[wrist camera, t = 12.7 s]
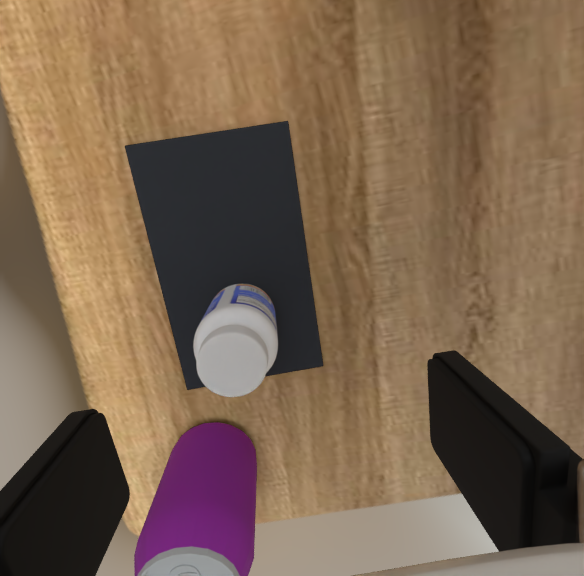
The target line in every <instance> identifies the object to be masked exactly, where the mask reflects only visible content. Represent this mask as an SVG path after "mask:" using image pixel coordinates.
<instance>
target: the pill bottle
mask: <svg viewBox="0 0 584 576" xmlns="http://www.w3.org/2000/svg"><path fill="white" fill-rule="evenodd" d="M193 348H194V355H195V358H196V367H197V373H198V376H199V378H200V379H201V381H202V383H203V384H204V385H205V386H206V387H207V388H208V389H209V390H211V391H212V392H214V393H216V394H218V395H221V396H225V397H239V396H243V395H246V394H248V393H250V392H252V391H253V390H255V389H256V388H257V387H258V386H259V385H260V384H261V383H262V381H263V379H264V378H265V375H266V373H267V372H268V371H269V369H270V368H271V367H272V365H273V363H274V361H275V359H276V356H277V351H278V335H277V325H276V315H275V309H274V305H273V303H272V301H271V299H270V298H269V296H268V295H267V294H266V293H265V292H264V291H263V290H261V289H260V288H258V287H256V286H253V285H250V284H235V285H231V286H228V287H226V288H224V289H223V290H221V291H220V292H219V293H218V294H217V295H216V296H215V297H214V299H213V300H212V302H211V304H210V306H209V307H208V309H207V311H206V313H205V315H204V316H203V318H202V320H201V322H200V324H199V326H198V328H197V330H196V333H195V336H194V344H193Z"/></svg>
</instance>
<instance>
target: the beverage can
mask: <svg viewBox="0 0 584 576" xmlns="http://www.w3.org/2000/svg"><path fill="white" fill-rule="evenodd" d="M256 480H257V460H256V450H255V448H254V445H253V443H252V441H251V439H250V438H249V437H248V436H247V435H246V434H245V433H244V432H243V431H242V430H240V429H238V428H236V427H234V426H232V425H229V424H224V423H219V422H215V423H204V424H201V425H198V426H196V427H193V428H191V429H190V430H188V431H187V432H186V433H184V434H183V435H182V436H181V437H180V439H179V440H178V442H177V443H176V445H175V446H174V448H173V450H172V452H171V455H170V457H169V460H168V463H167V465H166V468H165V470H164V473H163V476H162V478H161V481H160V484H159V486H158V489H157V492H156V494H155V497H154V499H153V502H152V505H151V507H150V510H149V513H148V515H147V518H146V521H145V523H144V526H143V529H142V531H141V534H140V536H139V539H138V542H137V547H136V551H135V576H248V574H249V571H250V568H251V565H252V562H253V559H254V537H255V509H256Z"/></svg>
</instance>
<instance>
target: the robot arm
mask: <svg viewBox="0 0 584 576" xmlns="http://www.w3.org/2000/svg"><path fill="white" fill-rule="evenodd" d="M427 366H428V390H429V414H430V437H431V443H432V446H433V448H434V451H435V452H436V454H437V455H438V457H439V459H440V460H441V462H442V463H443V465H444V466H445V468H446V469H447V471H448V473H449V474H450V476H451V477H452V479H453V480H454V482H455V483H456V485H457V487H458V488H459V490H460V491H461V493H462V494H463V496H464V498H465V499H466V500H467V502H468V504H469V505H470V507H471V508H472V510H473V512H474V513H475V515H476V516H477V518H478V519H479V521H480V522H481V524H482V526H483V527H484V529H485V530H486V532H487V533H488V535H489V536H490V538H491V539H492V541H493V543H494V544H495V546H496V547H497V549H498V550H499V552H494V553H488V554H480V555H474V556H467V557H460V558H454V559H447V560H441V561H435V562H430V563H424V564H418V565H412V566H406V567H400V568H394V569H388V570H383V571H377V572H371V573H365V574H360V575H353V576H584V459H582V458H581V457H580V456H578V455H577V454H576V453H575V452H574V451H573V450H571V449H570V447H569V446H568V445H567V444H566V443H565V442H563V441H562V440H561V439H560V438H559V437H558V436H556V435H555V434H554V433H553V432H552V431H550V430H549V429H548V428H547V427H546V426H544V425H543V424H542V423H541V422H540V421H539V420H537V419H536V418H535V417H534V416H533V415H531V414H530V413H529V412H528V411H527V410H526V409H524V408H523V407H522V406H521V405H520V404H518V403H517V402H516V401H515V400H514V399H513V398H511V397H510V396H509V395H508V394H507V393H505V392H504V391H503V390H502V389H501V388H499V387H498V386H497V385H496V384H495V383H494V382H492V381H491V380H490V379H489V378H488V377H486V376H485V375H484V374H483V373H482V372H481V371H479V370H478V369H477V368H476V367H475V366H473V365H472V364H471V363H470V362H469V361H468V360H466V359H465V358H464V357H463V356H462V355H460V354H459V353H458V352H457V351H455V350H454V351H447V352H441V353H435V354H434V355H433V359H429V360H428V365H427ZM129 495H130V492H129V486H128V484H127V481H126V478H125V475H124V472H123V469H122V466H121V463H120V460H119V457H118V454H117V451H116V448H115V445H114V442H113V439H112V436H111V433H110V430H109V427H108V424H107V421H106V418H105V416H104V415H103V414H102V413H98V411H97V410H95V409H90V410H84V411H78V412H72V413H71V414H69V415H68V416H67V417H66V419H65V420H64V421H63V422H62V423H61V424H60V425H59V426H58V427H57V429H56V430H55V431H54V432H53V433H52V434H51V435H50V436H49V437H48V439H47V440H46V441H45V442H44V443H43V444H42V445H41V446H40V447H39V449H38V450H37V451H36V452H35V453H34V454H33V455H32V456H31V457H30V459H29V460H28V461H27V462H26V463H25V464H24V465H23V466H22V468H21V469H20V470H19V471H18V472H17V473H16V474H15V475H14V476H13V477H12V479H11V480H10V481H9V482H8V483H7V484H6V485H5V487H3V489H2V490H1V491H0V576H95V575H96V573H97V571H98V568H99V566H100V564H101V562H102V559H103V557H104V555H105V553H106V551H107V548H108V546H109V544H110V542H111V540H112V537H113V535H114V533H115V531H116V529H117V526H118V524H119V522H120V520H121V518H122V515H123V513H124V511H125V509H126V507H127V504H128V501H129Z"/></svg>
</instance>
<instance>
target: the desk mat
mask: <svg viewBox="0 0 584 576" xmlns="http://www.w3.org/2000/svg"><path fill="white" fill-rule="evenodd" d="M125 149H126V153H127V157H128V161H129V165H130V169H131V172H132V176H133V180H134V184H135V188H136V192H137V196H138V200H139V204H140V207H141V211H142V215H143V219H144V223H145V227H146V231H147V235H148V239H149V243H150V246H151V250H152V254H153V258H154V262H155V266H156V270H157V274H158V278H159V282H160V285H161V289H162V293H163V297H164V301H165V305H166V309H167V313H168V317H169V321H170V324H171V328H172V332H173V336H174V340H175V344H176V348H177V352H178V356H179V360H180V363H181V367H182V371H183V375H184V379H185V383H186V387H187V390H190V389H195V388H201V387H206V386H205V385H204V384H203V383H202V381H201V379H200V378H199V376H198V373H197V367H196V358H195V355H194V348H193V344H194V336H195V333H196V330H197V328H198V326H199V324H200V322H201V320H202V318H203V316H204V315H205V313H206V311H207V309H208V307H209V306H210V304H211V302H212V300H213V299H214V297H215V296H216V295H217V294H218V293H219V292H220V291H221V290H223V289H224V288H226V287H228V286H231V285H235V284H250V285H253V286H256V287H258V288H260V289H261V290H263V291H264V292H265V293H266V294H267V295H268V296H269V298H270V299H271V301H272V303H273V305H274V309H275V315H276V325H277V335H278V351H277V356H276V359H275V361H274V363H273V365H272V367H271V368H270V369H269V371H268V372H267V373H266V375H265V376H270V375H275V374H281V373H287V372H292V371H298V370H304V369H310V368H315V367H321V366H323V360H322V353H321V346H320V339H319V332H318V325H317V319H316V312H315V305H314V298H313V291H312V284H311V277H310V270H309V263H308V256H307V249H306V242H305V235H304V228H303V221H302V215H301V208H300V201H299V194H298V187H297V180H296V173H295V166H294V159H293V152H292V145H291V138H290V131H289V124H288V121H284V122H278V123H271V124H265V125H258V126H251V127H245V128H238V129H232V130H225V131H219V132H212V133H205V134H199V135H192V136H186V137H179V138H172V139H166V140H159V141H153V142H146V143H140V144H133V145H126V146H125Z"/></svg>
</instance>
